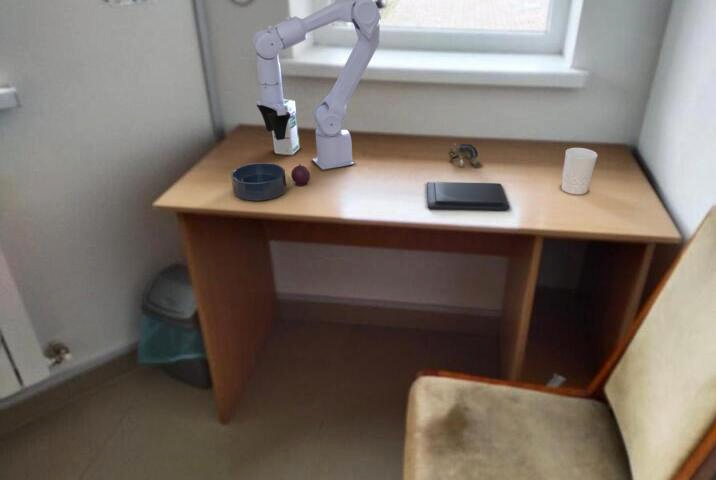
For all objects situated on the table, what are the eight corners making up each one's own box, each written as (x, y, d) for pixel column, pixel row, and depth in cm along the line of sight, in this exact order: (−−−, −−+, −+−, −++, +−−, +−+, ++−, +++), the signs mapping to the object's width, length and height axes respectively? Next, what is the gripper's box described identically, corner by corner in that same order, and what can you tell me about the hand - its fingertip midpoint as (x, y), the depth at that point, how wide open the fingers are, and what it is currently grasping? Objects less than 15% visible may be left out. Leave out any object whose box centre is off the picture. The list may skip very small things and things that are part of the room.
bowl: (277, 177, 148) (275, 159, 146) (293, 196, 139) (292, 177, 136) (228, 186, 143) (225, 168, 140) (241, 206, 134) (238, 187, 131)
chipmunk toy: (446, 165, 156) (477, 163, 153) (446, 139, 156) (478, 137, 153) (452, 170, 163) (482, 169, 161) (452, 146, 163) (483, 144, 161)
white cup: (572, 197, 143) (580, 160, 137) (552, 186, 149) (559, 150, 143) (595, 192, 146) (604, 156, 141) (575, 181, 152) (582, 145, 146)
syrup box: (292, 155, 162) (288, 105, 154) (273, 153, 163) (268, 103, 155) (300, 148, 167) (295, 99, 159) (281, 147, 167) (276, 98, 159)
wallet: (427, 202, 134) (427, 177, 147) (427, 209, 135) (426, 183, 148) (510, 205, 134) (503, 179, 147) (509, 212, 135) (502, 186, 148)
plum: (307, 179, 148) (305, 159, 145) (313, 185, 145) (312, 165, 142) (289, 182, 146) (287, 162, 143) (295, 189, 143) (293, 168, 140)
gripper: (246, 77, 145) (253, 128, 152) (263, 91, 134) (269, 145, 142) (273, 74, 148) (278, 125, 155) (291, 88, 137) (296, 141, 145)
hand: (275, 134), depth 149 cm, fingers open, 7 cm apart
